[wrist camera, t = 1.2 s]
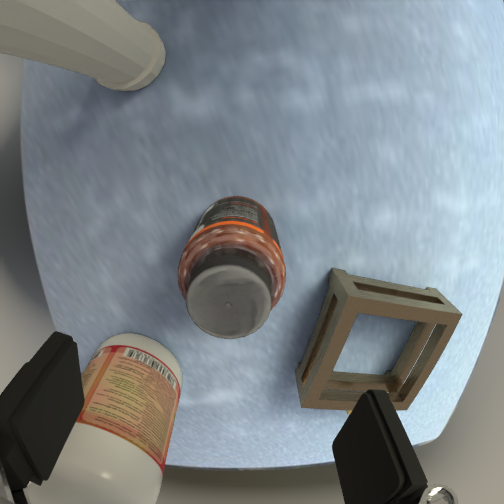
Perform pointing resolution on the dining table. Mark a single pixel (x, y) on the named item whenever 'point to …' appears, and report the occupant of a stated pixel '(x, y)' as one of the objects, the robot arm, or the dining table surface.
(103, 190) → the dining table surface
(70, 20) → the pipe
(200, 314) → the supplement bottle
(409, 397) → the collar stand
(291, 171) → the dining table surface
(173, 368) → the fruit juice
